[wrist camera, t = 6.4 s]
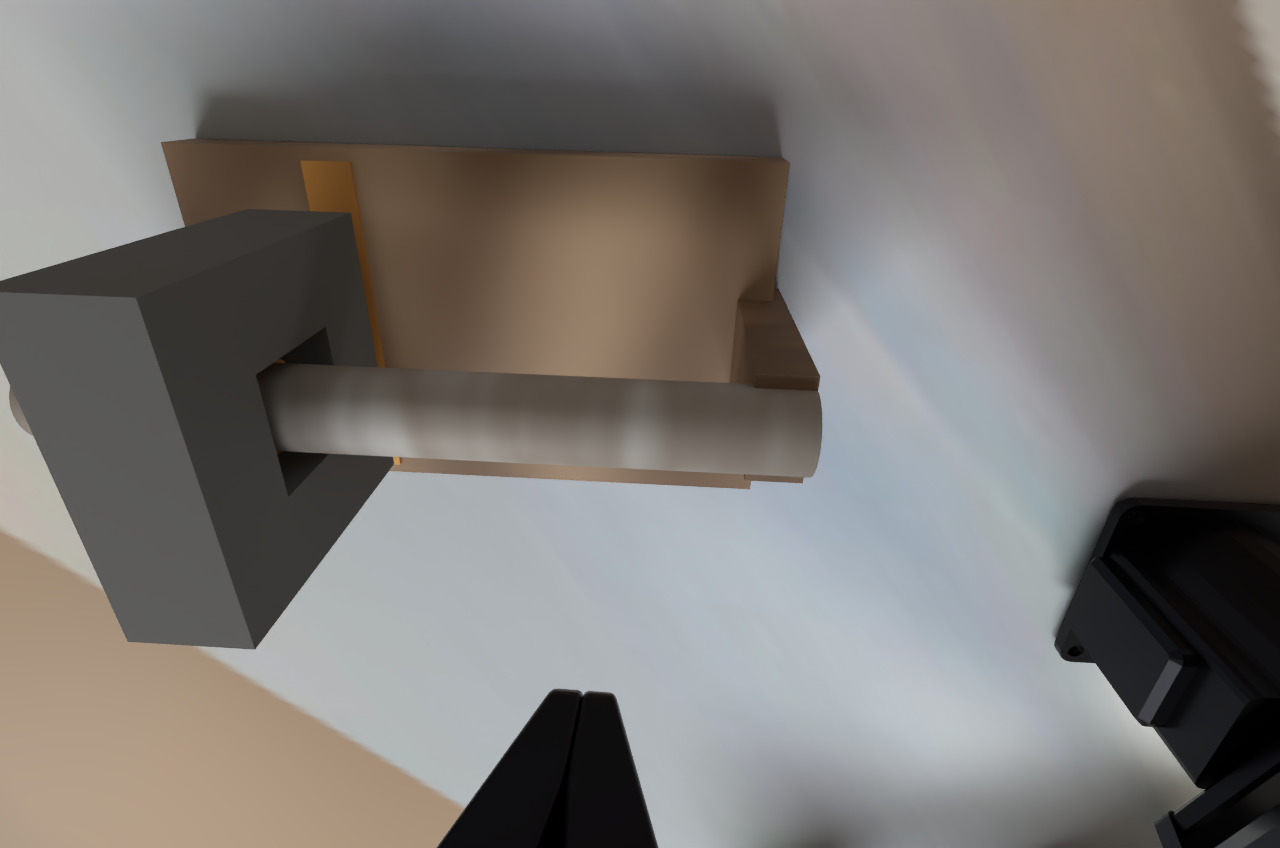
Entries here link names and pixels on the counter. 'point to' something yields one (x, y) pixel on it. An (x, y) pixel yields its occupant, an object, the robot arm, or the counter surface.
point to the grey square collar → (193, 414)
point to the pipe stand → (540, 310)
